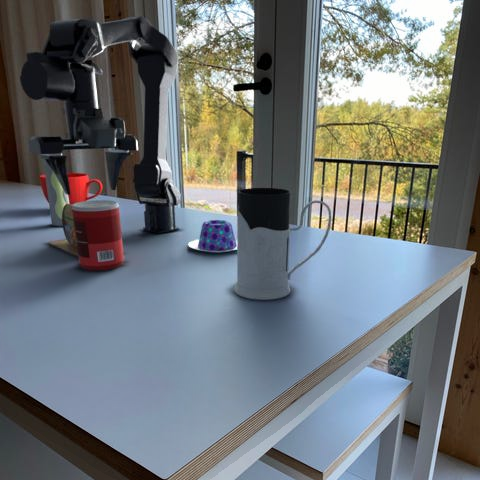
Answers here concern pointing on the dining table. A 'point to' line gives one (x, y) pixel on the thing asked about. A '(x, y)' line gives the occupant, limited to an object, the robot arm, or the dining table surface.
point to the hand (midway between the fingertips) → (91, 192)
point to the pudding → (215, 237)
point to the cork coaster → (65, 246)
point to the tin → (69, 224)
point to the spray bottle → (55, 195)
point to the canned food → (98, 234)
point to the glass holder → (266, 242)
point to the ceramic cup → (75, 187)
